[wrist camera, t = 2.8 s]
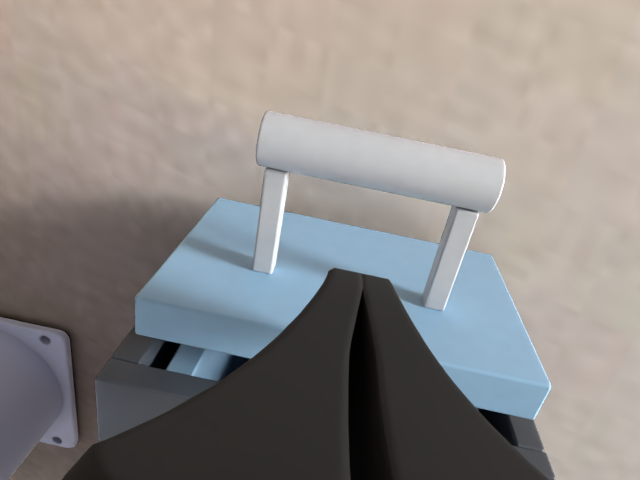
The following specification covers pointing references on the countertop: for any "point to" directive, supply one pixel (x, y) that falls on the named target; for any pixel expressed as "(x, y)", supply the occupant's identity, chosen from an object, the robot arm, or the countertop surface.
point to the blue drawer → (347, 263)
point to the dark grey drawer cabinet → (175, 388)
